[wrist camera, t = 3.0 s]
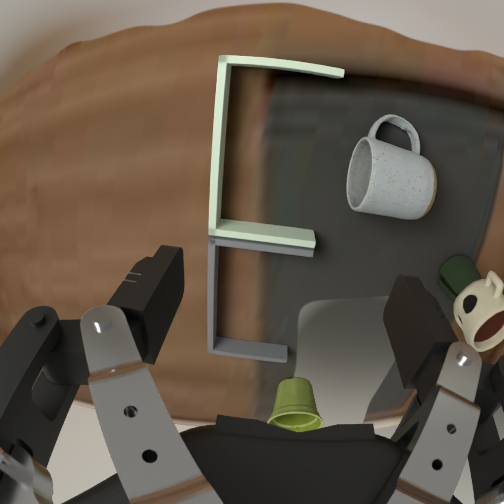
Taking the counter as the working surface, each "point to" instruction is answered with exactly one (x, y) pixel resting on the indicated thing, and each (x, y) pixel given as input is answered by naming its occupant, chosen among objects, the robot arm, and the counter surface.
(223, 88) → the corral green
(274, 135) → the counter surface
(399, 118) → the ceramic mug
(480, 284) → the character mug
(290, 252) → the corral charcoal
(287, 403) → the plant pot
